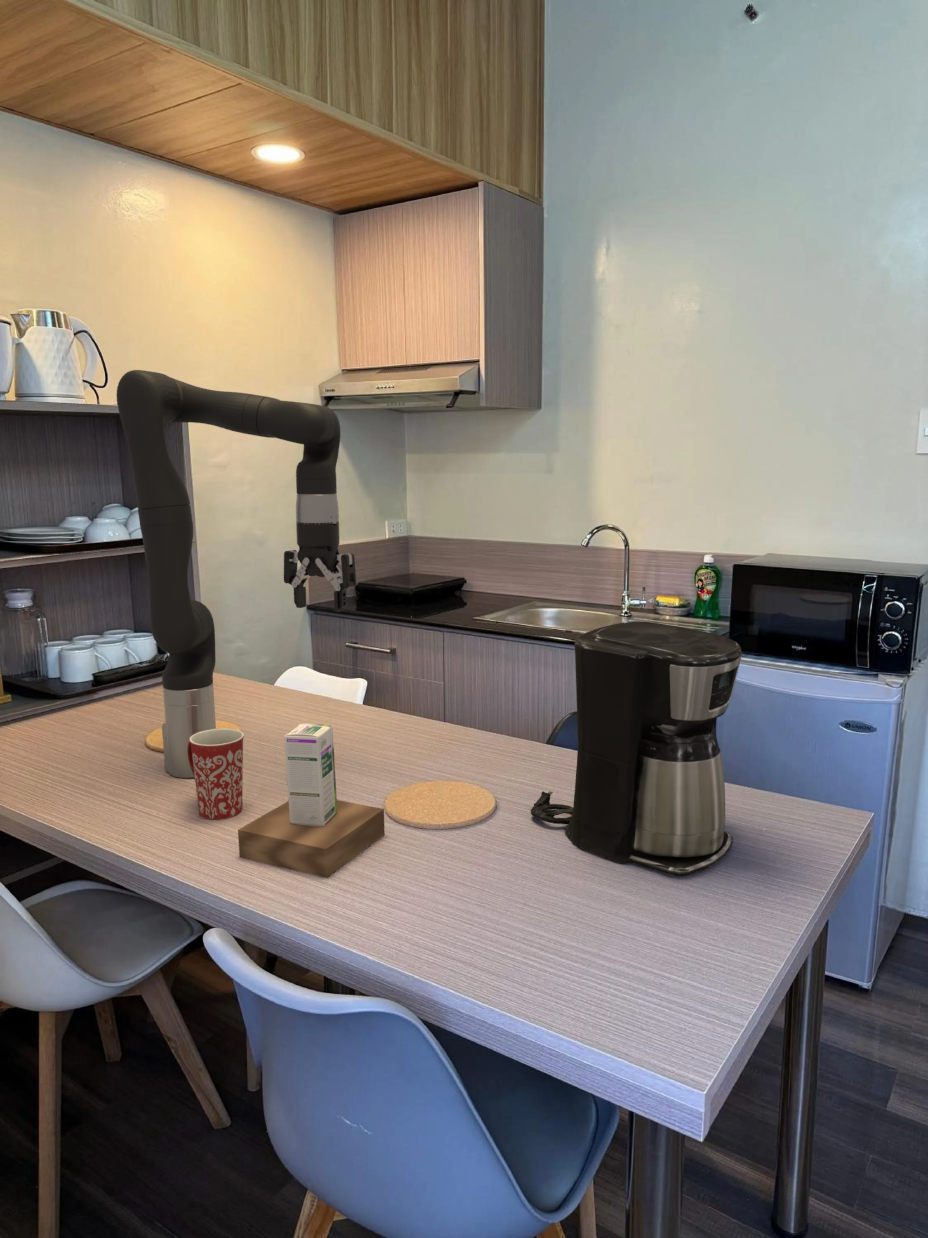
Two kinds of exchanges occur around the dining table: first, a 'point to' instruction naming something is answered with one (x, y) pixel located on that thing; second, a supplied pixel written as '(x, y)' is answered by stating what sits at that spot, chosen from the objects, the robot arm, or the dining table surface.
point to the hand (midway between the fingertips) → (320, 609)
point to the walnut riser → (312, 838)
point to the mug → (217, 771)
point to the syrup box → (311, 774)
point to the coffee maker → (650, 746)
